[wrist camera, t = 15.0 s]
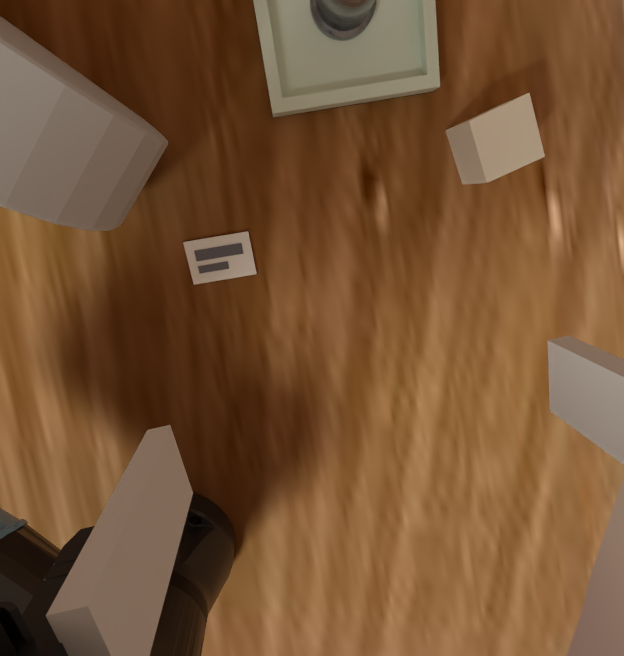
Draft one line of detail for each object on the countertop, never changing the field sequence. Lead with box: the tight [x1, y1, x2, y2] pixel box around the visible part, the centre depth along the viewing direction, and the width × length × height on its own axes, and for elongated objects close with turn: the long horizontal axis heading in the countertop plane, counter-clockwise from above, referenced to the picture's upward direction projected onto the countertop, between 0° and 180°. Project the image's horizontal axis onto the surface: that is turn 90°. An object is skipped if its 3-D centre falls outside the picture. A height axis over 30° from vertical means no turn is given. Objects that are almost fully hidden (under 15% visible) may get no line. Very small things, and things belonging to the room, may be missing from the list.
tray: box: [253, 0, 440, 118], centre depth 33 cm, size 14×14×2 cm
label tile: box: [183, 231, 257, 285], centre depth 39 cm, size 6×4×1 cm, turn 99°
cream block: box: [445, 93, 545, 185], centre depth 36 cm, size 5×5×5 cm
